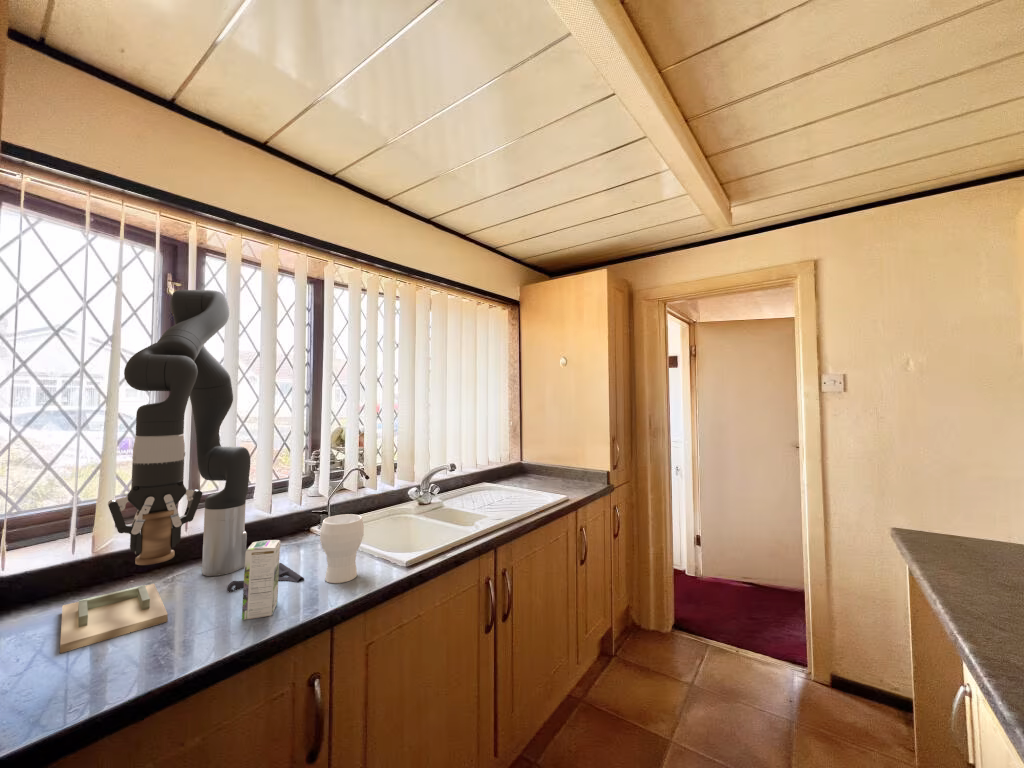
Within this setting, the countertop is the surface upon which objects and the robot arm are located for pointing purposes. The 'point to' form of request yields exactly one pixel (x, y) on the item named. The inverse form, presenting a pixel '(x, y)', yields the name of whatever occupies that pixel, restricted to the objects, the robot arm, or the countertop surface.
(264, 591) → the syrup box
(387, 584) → the countertop surface
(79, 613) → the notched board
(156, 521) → the wooden bobbin
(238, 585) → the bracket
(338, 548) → the cup
